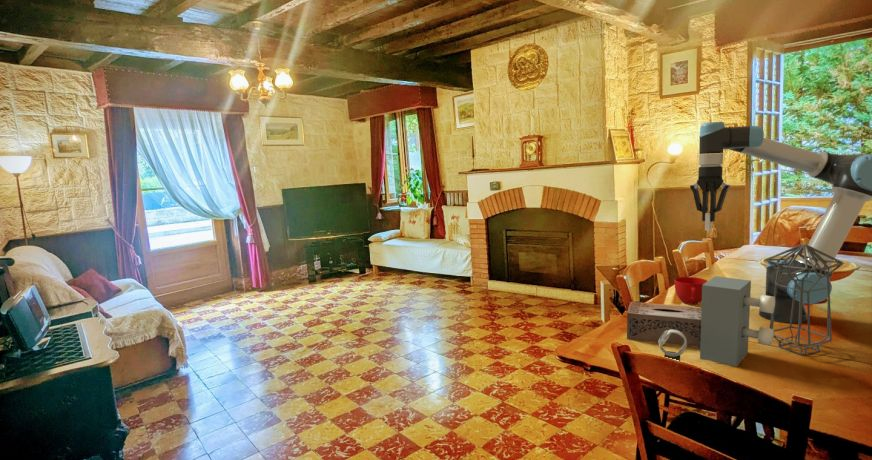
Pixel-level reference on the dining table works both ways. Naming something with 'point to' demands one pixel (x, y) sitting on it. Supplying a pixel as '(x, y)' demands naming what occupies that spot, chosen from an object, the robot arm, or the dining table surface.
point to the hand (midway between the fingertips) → (708, 230)
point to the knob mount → (724, 320)
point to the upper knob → (761, 303)
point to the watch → (665, 337)
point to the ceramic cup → (689, 289)
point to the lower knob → (760, 335)
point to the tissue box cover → (664, 323)
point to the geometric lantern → (813, 254)
